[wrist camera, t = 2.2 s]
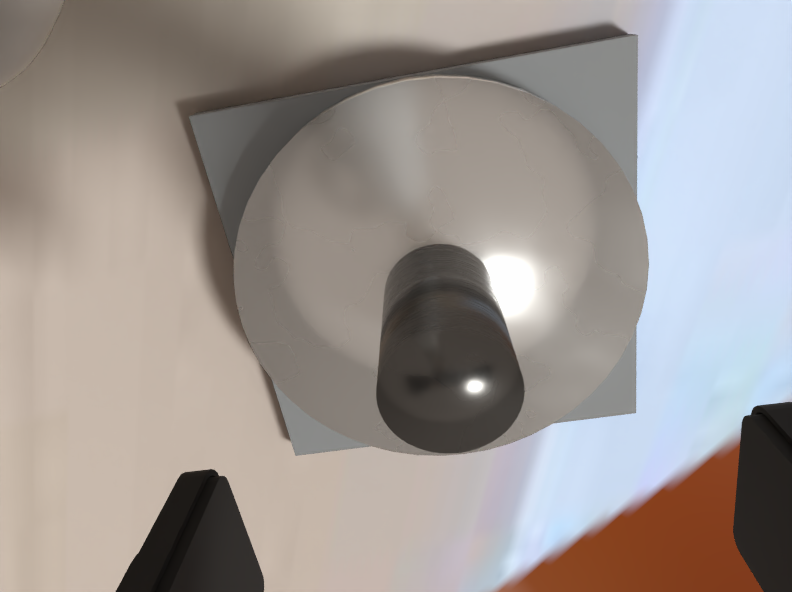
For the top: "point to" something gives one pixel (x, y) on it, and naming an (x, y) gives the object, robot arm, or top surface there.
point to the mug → (24, 33)
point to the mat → (534, 72)
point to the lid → (440, 265)
